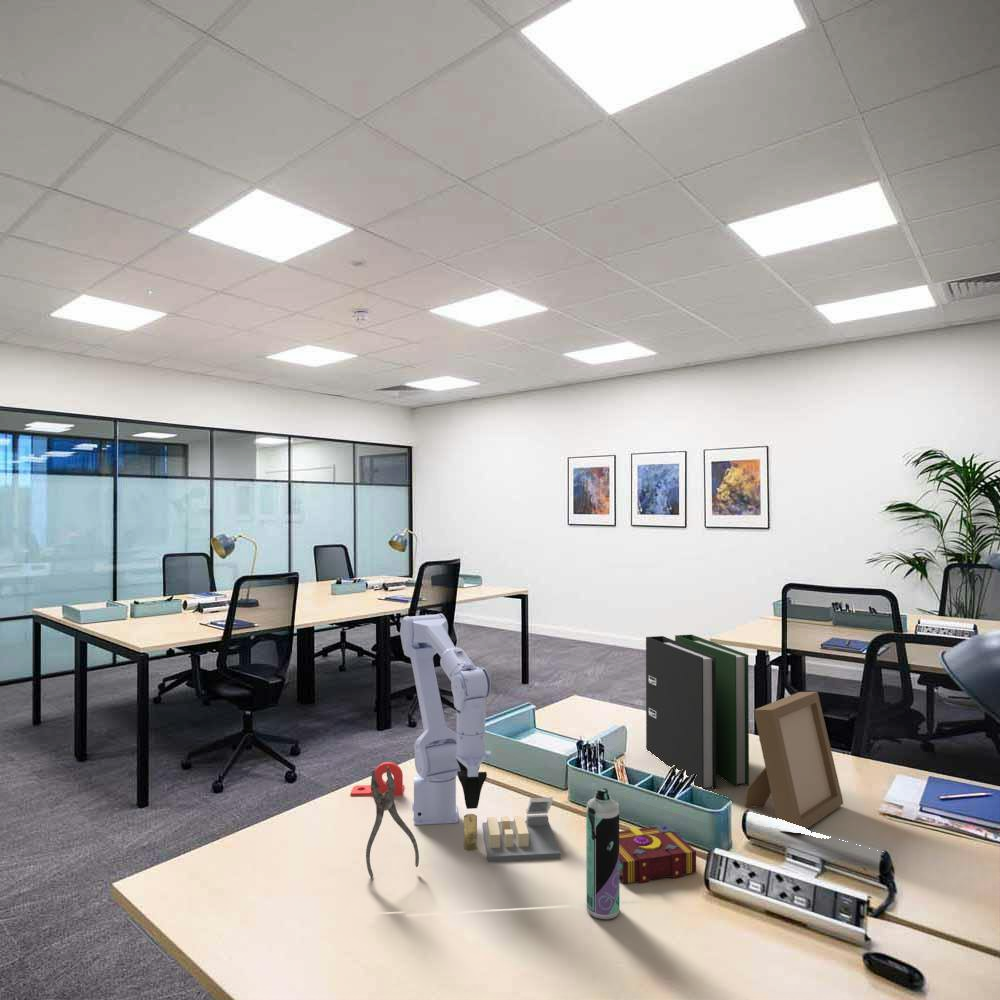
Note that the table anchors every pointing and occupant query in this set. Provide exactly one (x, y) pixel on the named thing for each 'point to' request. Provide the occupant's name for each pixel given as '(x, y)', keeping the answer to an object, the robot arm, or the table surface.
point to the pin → (470, 832)
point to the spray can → (602, 856)
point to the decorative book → (653, 854)
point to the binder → (698, 708)
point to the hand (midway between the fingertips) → (470, 799)
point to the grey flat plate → (539, 805)
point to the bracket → (382, 781)
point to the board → (524, 853)
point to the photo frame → (795, 761)
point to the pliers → (382, 804)
